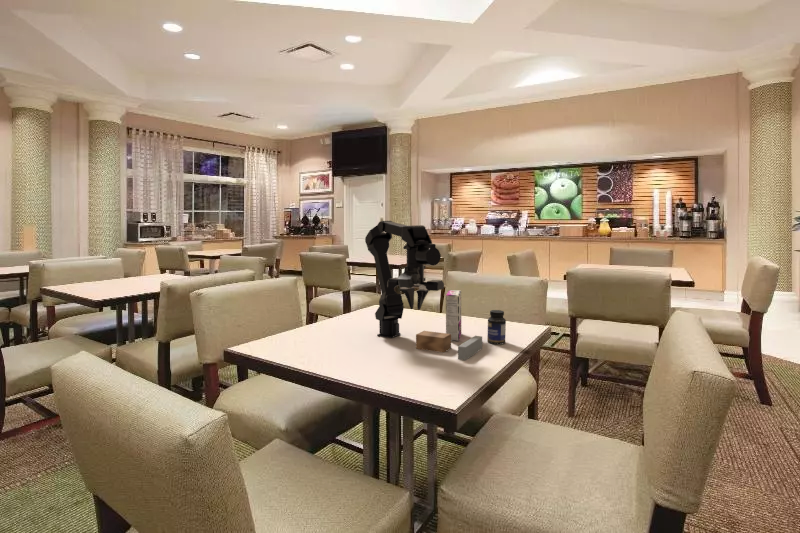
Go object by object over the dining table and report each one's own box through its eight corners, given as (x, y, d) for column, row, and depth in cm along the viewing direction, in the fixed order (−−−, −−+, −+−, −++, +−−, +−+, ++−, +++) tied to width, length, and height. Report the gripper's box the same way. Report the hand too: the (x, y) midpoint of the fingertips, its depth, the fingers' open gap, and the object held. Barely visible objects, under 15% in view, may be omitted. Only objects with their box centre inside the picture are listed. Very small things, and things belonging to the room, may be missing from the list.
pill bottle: (483, 342, 164) (484, 311, 163) (493, 339, 169) (493, 308, 168) (499, 345, 160) (500, 313, 159) (508, 342, 164) (509, 311, 163)
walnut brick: (416, 349, 157) (415, 334, 157) (424, 345, 162) (423, 330, 162) (443, 353, 152) (443, 338, 152) (451, 348, 158) (451, 334, 157)
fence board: (458, 359, 145) (458, 346, 145) (475, 347, 158) (475, 335, 158) (465, 360, 144) (465, 347, 144) (482, 348, 157) (482, 336, 157)
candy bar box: (448, 333, 178) (448, 289, 176) (461, 333, 177) (462, 290, 175) (445, 340, 167) (445, 294, 166) (459, 341, 166) (459, 295, 165)
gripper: (378, 264, 155) (379, 311, 157) (430, 266, 146) (429, 316, 148) (395, 261, 165) (395, 305, 167) (444, 263, 156) (444, 310, 158)
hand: (415, 309), depth 159 cm, fingers closed
